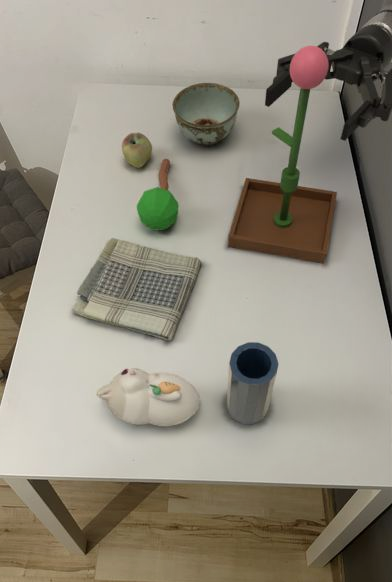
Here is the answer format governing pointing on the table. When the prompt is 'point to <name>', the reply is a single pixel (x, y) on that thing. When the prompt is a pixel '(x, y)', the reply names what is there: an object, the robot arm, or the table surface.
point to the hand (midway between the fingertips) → (304, 114)
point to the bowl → (206, 112)
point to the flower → (299, 120)
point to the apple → (136, 149)
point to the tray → (291, 240)
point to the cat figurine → (150, 397)
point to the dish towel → (138, 288)
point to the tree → (158, 203)
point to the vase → (251, 382)
